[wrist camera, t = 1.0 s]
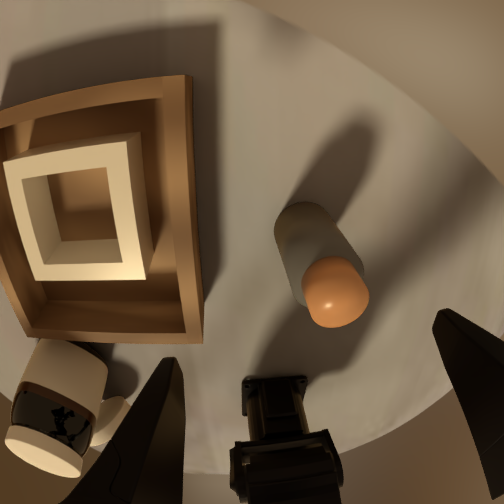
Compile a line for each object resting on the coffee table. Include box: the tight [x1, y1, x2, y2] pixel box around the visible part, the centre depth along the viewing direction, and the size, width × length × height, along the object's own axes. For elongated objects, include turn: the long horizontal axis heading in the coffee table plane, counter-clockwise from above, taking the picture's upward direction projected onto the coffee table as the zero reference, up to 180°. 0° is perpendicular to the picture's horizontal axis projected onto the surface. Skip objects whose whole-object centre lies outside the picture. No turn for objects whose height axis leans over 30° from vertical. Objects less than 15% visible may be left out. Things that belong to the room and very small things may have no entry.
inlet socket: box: [3, 132, 154, 281], centre depth 17 cm, size 8×8×3 cm
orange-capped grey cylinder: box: [274, 202, 369, 328], centre depth 18 cm, size 4×4×8 cm
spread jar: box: [5, 338, 131, 478], centre depth 22 cm, size 12×11×12 cm
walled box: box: [0, 75, 204, 344], centre depth 17 cm, size 16×14×4 cm
